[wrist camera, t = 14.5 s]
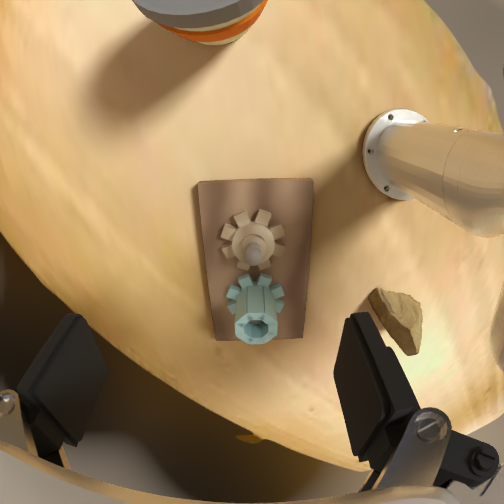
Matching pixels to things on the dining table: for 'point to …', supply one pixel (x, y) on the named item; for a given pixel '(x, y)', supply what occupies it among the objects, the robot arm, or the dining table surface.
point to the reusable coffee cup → (204, 18)
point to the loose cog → (255, 308)
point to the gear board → (282, 268)
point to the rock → (399, 318)
